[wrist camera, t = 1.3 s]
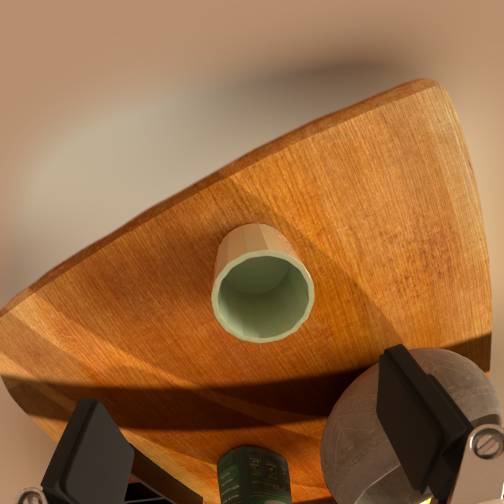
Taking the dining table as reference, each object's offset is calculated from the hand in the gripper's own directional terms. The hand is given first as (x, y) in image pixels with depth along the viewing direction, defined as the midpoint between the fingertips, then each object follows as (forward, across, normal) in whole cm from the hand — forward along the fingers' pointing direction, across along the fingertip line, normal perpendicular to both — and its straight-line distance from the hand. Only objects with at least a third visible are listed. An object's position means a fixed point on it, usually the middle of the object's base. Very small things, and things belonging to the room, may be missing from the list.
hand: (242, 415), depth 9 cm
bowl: (+20, -14, +23) cm, 33 cm away
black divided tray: (+20, +22, +35) cm, 45 cm away
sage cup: (+20, -2, +2) cm, 20 cm away
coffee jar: (+20, +4, +31) cm, 37 cm away
